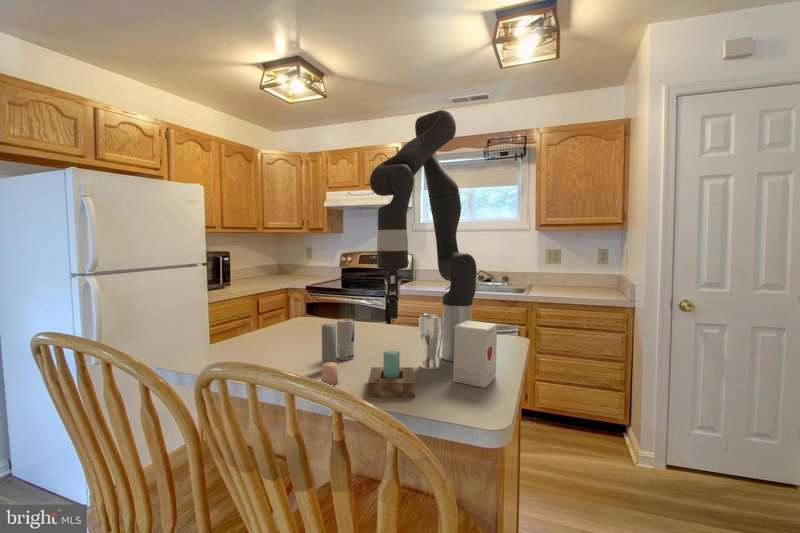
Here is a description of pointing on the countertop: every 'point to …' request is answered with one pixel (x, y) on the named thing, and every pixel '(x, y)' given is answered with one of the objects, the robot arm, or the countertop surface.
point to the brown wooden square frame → (391, 383)
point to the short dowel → (330, 373)
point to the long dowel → (328, 343)
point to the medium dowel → (391, 365)
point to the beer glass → (430, 340)
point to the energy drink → (345, 339)
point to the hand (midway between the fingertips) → (393, 314)
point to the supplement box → (475, 353)
